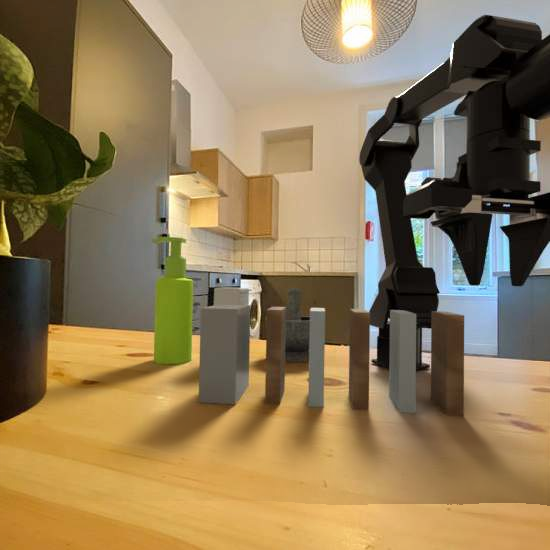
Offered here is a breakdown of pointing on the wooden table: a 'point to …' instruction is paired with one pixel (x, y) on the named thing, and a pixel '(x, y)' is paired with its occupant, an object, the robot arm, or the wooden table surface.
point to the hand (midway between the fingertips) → (496, 285)
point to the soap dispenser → (173, 308)
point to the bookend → (224, 353)
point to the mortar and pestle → (296, 329)
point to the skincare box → (231, 296)
